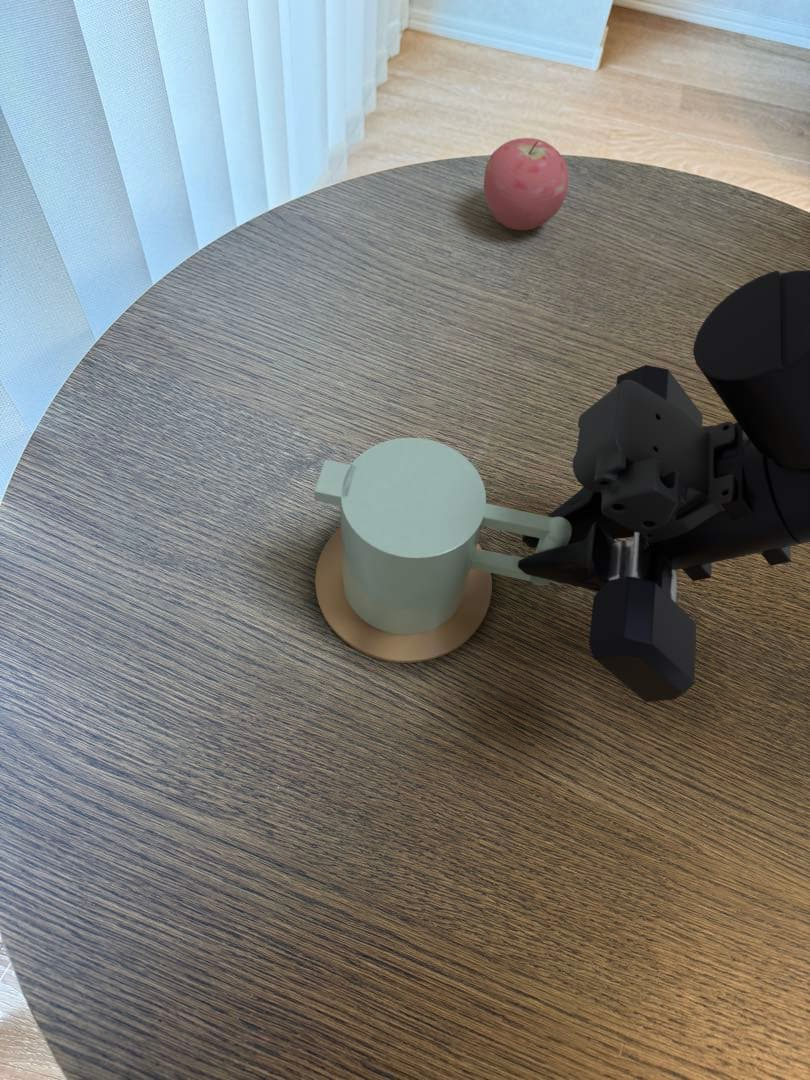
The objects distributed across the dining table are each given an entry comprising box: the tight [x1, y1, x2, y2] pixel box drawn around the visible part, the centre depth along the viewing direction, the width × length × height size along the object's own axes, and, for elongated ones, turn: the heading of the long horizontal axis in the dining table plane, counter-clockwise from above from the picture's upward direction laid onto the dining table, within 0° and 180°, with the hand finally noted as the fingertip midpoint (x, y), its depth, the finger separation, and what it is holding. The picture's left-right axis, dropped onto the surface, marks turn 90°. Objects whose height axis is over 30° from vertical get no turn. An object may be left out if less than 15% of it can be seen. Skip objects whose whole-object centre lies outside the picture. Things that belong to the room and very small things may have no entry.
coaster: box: [314, 526, 493, 664], centre depth 56 cm, size 12×12×1 cm
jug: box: [313, 437, 572, 635], centre depth 51 cm, size 15×8×10 cm, turn 78°
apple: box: [483, 137, 570, 231], centre depth 73 cm, size 7×7×8 cm
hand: (523, 554), depth 50 cm, fingers closed on jug, 2 cm apart
